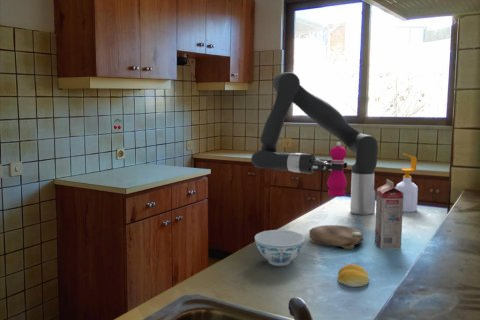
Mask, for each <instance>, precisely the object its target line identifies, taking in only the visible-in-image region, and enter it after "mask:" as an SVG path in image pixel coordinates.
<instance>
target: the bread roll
mask: <svg viewBox="0 0 480 320" xmlns="http://www.w3.org/2000/svg"><path fill="white" fill-rule="evenodd" d="M337 275H338V276H337V281H338V282H339V283H340V284H342V285H344V286H347V287H350V288H359V287H363V286H367V284H368V283H369V281H370V277H369V274H368V272H367V270H365V268H363V266H360V265H357V264H352V263H351V264H347V265H344V266H342V267H341V268H340V269H339V270H338V274H337Z"/></svg>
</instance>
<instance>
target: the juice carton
mask: <svg viewBox="0 0 480 320" xmlns="http://www.w3.org/2000/svg"><path fill="white" fill-rule="evenodd" d="M403 195H404V193H402V192H401V191H399V190H398V189H396V186H395V183H394V182H393V181H391V180H389V179H388V178H387V179H386V180H385V184H384V185H382V186H379V187H378V188H377V189H376V196H375V222H374V223H375V226H374V244H376V246H377V247H379V249H380V250H388V249H390V250H394V249H395V250H401V249H402V235H403V234H402V231H403V214H404V213H403Z"/></svg>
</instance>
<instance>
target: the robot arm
mask: <svg viewBox="0 0 480 320" xmlns="http://www.w3.org/2000/svg"><path fill="white" fill-rule="evenodd" d="M272 83H273V84H272V85H273V89H274V91H275V92H276V97H275V99H274V100H275V101H274V104H273V106H272V109H271V111H270V113H269V114H268V117H267V119H266V121H265V123H264V127H263V129H262V132H261V136H260V143H261V144H262V145H261V150H257V151H255V152H254V153H252V155H251V157H250V158H251V164H252V165H253V167H255V168H258V169H270V170H271V169H273V170H278V171H279V170H280V171H285V172H286V171H288V172H293V173H302V174H311V175H312V174H313V173H314V171H320V172H332V170H338V171H342V170H343V171H344V169H347V168H348V162H345V161H344V162H345V163H344V164H343V165H341V164H333V165H332V163H331V159H329V158H318V159H316V156H315V154H314V153H304V152H303V153H301V152H277V145H278V142H279V139H280V135H281V133H282V128H283V127H284V123H285V120H286V117H287V115H288V112H289V109H290V107H291V105H292V104H294V105H296V106H297V108H299V110H301V111H302V112H303V113H304V114H305V115H307V116H308V118H310V119H311V120H312V121H314V122H315V123H316V124H317V125H318V126H319V127H320V128H322V129H324V130H325V131H326V132H328V133H329V134H331V135H332V136H334V137H336V138H337V139H338V140H340V141H341V143H343V144H344V145H345V147H347V148H348V149H349V150H350V151H351V152H352V153H353V154H354V155H356V157H355V163H354V164H352V165H351V179H350V180H351V181H350V183H351V184H350V213H352V214H354V215H363V216H364V215H365V216H366V215H367V216H368V215H372V214H374V213H376V190H375V187H374V186H375V169H376V167H377V163H378V154H379V146H378V141H377V139H376V137H374V136H373V135H370V134H364V133H362V132H361V131H358V130H357V129H356V128H354V127H353V126H351V125H350V123H348V121H347V120H346V118H345V117H344V116H343V115H342V114H341V113H340V111H338V109H336V108H335V107H334V106H333V105H331V104H330V103H329V102H327V101H325V100H324V99H322V98H321V97H319V96H317V95H315V94H314V93H311V92H310V91H308V89H305V88H304V87H303V86H302V85H301V82H300V77H299V76H298V75H297V74H295V73H294V72H290V71H286V72H281V73H278V74H277V75H276V76H275V77H274V79H273V82H272Z"/></svg>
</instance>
